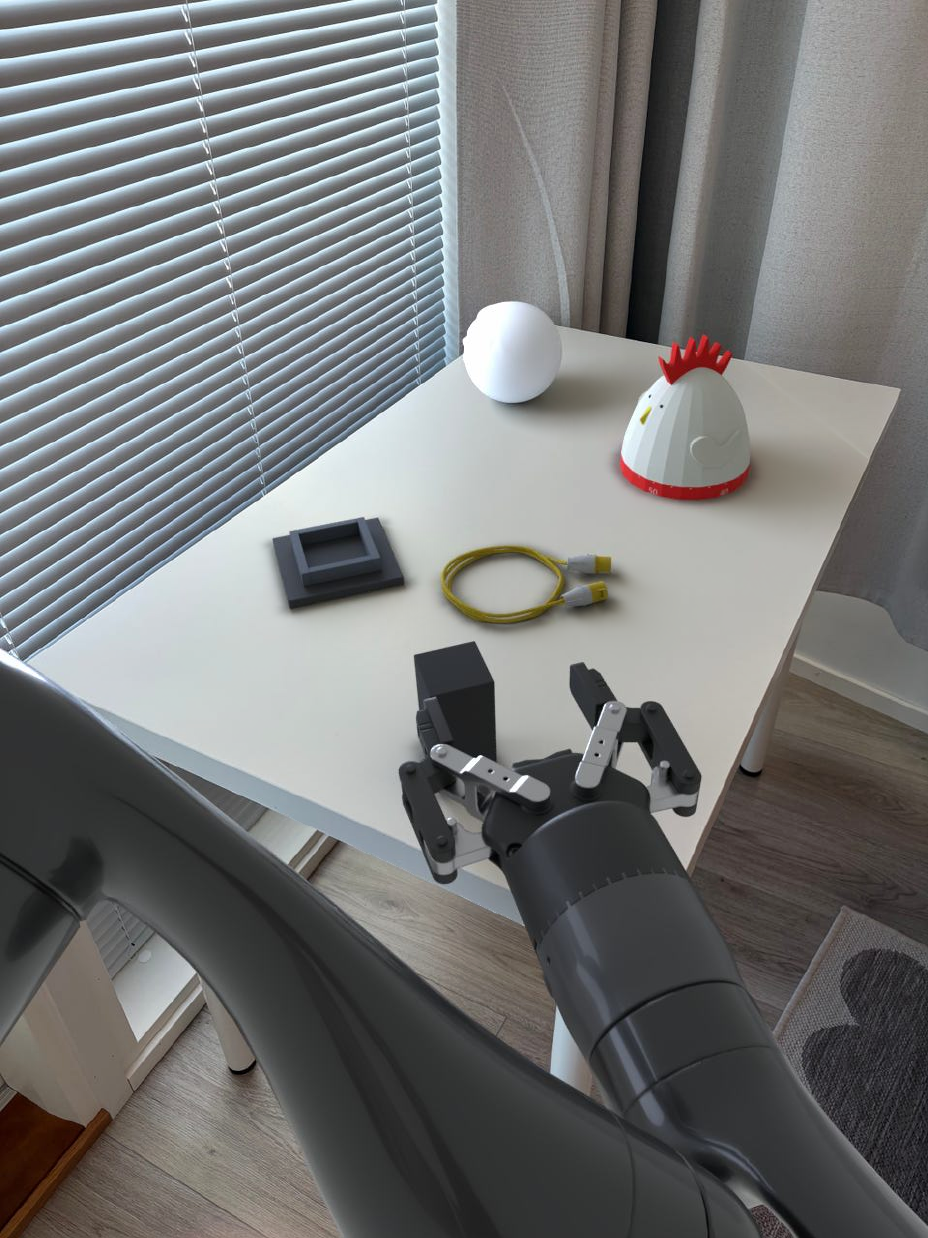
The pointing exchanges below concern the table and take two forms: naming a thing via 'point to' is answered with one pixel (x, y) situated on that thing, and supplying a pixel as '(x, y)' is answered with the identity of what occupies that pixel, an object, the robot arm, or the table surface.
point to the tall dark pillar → (461, 695)
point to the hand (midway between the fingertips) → (503, 691)
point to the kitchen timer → (688, 429)
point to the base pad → (336, 561)
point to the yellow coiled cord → (577, 563)
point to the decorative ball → (512, 351)
